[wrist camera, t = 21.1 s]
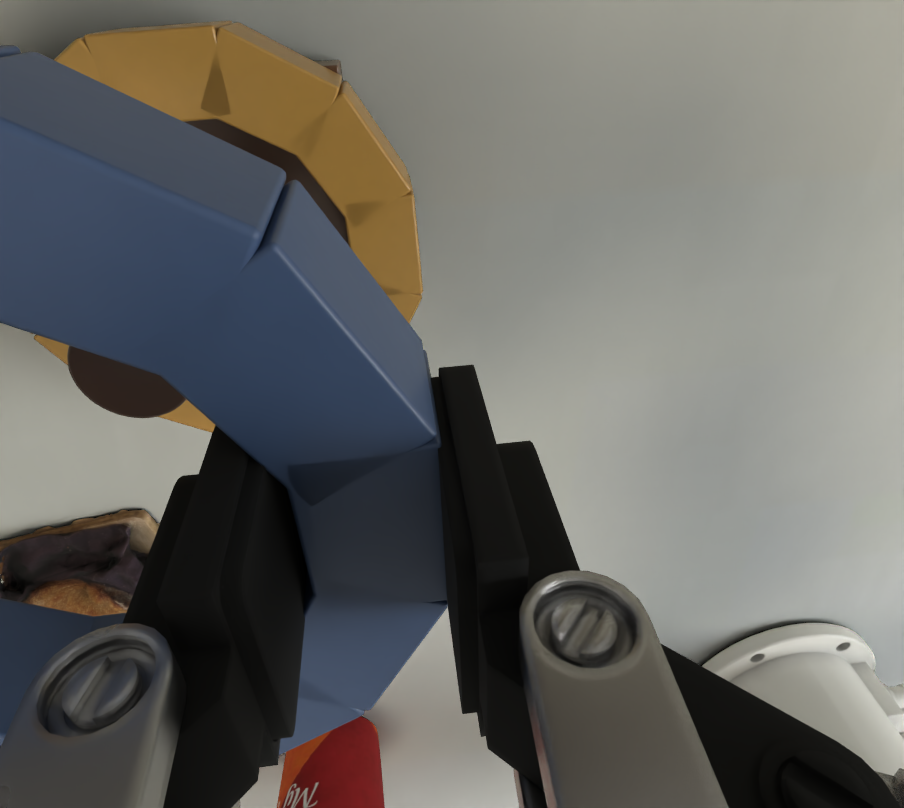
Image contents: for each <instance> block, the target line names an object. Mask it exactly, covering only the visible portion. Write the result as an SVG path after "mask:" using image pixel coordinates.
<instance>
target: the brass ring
mask: <svg viewBox="0 0 904 808" xmlns="http://www.w3.org/2000/svg"><path fill="white" fill-rule="evenodd" d="M54 61H56V62H59V63H61V64H63V65H65V66H67V67H69V68H71V69H73V70H75V71H78V72H80V73H82V74H84V75H86V76H88V77H90V78H92V79H94V80H97V81H99V82H101V83H103V84H105V85H107V86H109V87H111V88H113V89H116V90H118V91H120V92H122V93H124V94H126V95H128V96H130V97H132V98H135V99H137V100H139V101H141V102H143V103H145V104H147V105H149V106H151V107H154V108H156V109H158V110H160V111H162V112H164V113H166V114H168V115H170V116H173V117H175V118H177V119H179V120H181V121H183V122H185V121H196V120H208V119H218V120H220V121H223V122H225V123H227V124H229V125H231V126H233V127H236V128H238V129H240V130H242V131H244V132H246V133H249V134H251V135H253V136H255V137H257V138H260V139H262V140H264V141H266V142H268V143H270V144H273V145H275V146H277V147H279V148H281V149H283V150H286V151H288V152H290V153H292V154H294V155H296V156H297V157H298V159H299V160H300V161H301V163H302V164H303V165H304V166H305V168H306V169H307V170H308V172H309V173H310V174H311V175H312V177H313V178H314V179H315V180H316V182H317V183H318V184H319V186H320V187H321V188H322V189H323V191H324V192H325V193H326V194H327V196H328V197H329V198H330V200H331V201H332V202H333V203H334V205H335V206H336V207H337V208H338V210H339V211H340V212H341V214H342V215H343V216H344V217H345V223H346V230H347V236H348V242H349V247H350V248H351V249H352V250H353V252H354V253H355V254H356V256H357V257H358V258H359V260H360V261H361V262H362V263H363V265H364V266H365V267H366V269H367V270H368V271H369V273H370V274H371V275H372V276H373V278H374V279H375V280H376V282H377V283H378V284H379V286H380V287H381V288H382V289H383V291H384V292H385V293H386V295H387V296H388V297H389V299H390V300H391V301H392V302H393V304H394V305H395V306H396V308H397V309H398V310H399V311H400V313H401V314H402V315H403V317H404V318H405V319H406V321H407V322H408V323H410V321H411V319H412V317H413V315H414V313H415V311H416V309H417V307H418V305H419V303H420V301H421V299H422V296H421V293H422V292H423V286H422V275H421V265H420V254H419V243H418V232H417V221H416V211H415V200H414V194H413V189H412V185H411V181H410V176H409V174H408V173H407V169H406V166H405V165H404V163H403V162H402V160H401V159H400V157H399V156H398V154H397V153H396V152H395V150H394V149H393V147H392V146H391V144H390V143H389V141H388V140H387V138H386V137H385V135H384V134H383V133H382V131H381V130H380V128H379V127H378V125H377V124H376V122H375V121H374V119H373V118H372V117H371V115H370V114H369V112H368V111H367V109H366V108H365V106H364V105H363V103H362V102H361V100H360V99H359V98H358V96H357V95H356V93H355V92H354V90H353V89H352V87H351V86H350V84H349V83H348V82H347V81H343V82H342V83H341V81H342V76H341V75H339V74H337V73H335V72H333V71H332V70H330V69H328V68H326V67H324V66H322V65H320V64H318V63H316V62H314V61H312V60H310V59H308V58H306V57H305V56H303V55H301V54H299V53H297V52H295V51H293V50H291V49H289V48H287V47H285V46H283V45H281V44H279V43H277V42H276V41H274V40H272V39H270V38H268V37H266V36H264V35H262V34H260V33H258V32H256V31H254V30H252V29H250V28H248V27H247V26H245V25H243V24H241V23H238V22H236V23H232V21H215V22H202V23H189V24H175V25H162V26H148V27H135V28H122V29H115V30H109V31H103V32H97V33H91V34H86V35H85V36H84V37H82V38H77V39H75V40H74V41H73V42H72V43H71V44H70V45H69V46H68V47H67V48H66V49H65V50H64V51H63V52H62V53H61V54H59V55H58V56H57V57H56V58H55V59H54ZM31 334H33V333H31ZM34 339H35V340H36V341H38V342H39V343H40V344H41V345H43V346H44V347H45V348H46V349H48V350H49V351H50V352H51V353H53V354H54V355H55V356H57V357H58V358H59V359H60V360H62V361H63V362H64V363H65V364H67V365H68V361H67V353H68V347H69V345H66V344H63V343H60V342H57V341H54V340H51V339H48V338H45V337H42V336H39V335H35V336H34ZM157 417H161V418H164V419H168V420H171V421H174V422H178V423H181V424H185V425H188V426H192V427H195V428H198V429H202V430H205V431H209V432H212V433H213V430H214V427H215V424H214V423H213V422H212V421H210V420H209V419H208V418H207V417H206V416H205V415H204V414H203V413H201V412H200V411H199V410H198V409H197V408H196V407H195V406H194V405H192V404H191V403H190V402H189V401H188V400H186V401H185V402H184V403H183V404H182V405H180V406H179V407H178V408H176V409H175V410H173V411H171V412H169V413H167V414H164V415H161V416H157Z"/></svg>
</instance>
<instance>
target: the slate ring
mask: <svg viewBox="0 0 904 808" xmlns="http://www.w3.org/2000/svg"><path fill="white" fill-rule="evenodd" d="M285 181H286V172H285V171H284V170H283V169H282V168H280V167H278V166H276V165H274V164H272V163H270V162H267V161H265V160H263V159H261V158H259V157H257V156H255V155H253V154H251V153H248V152H246V151H244V150H242V149H240V148H238V147H236V146H234V145H232V144H229V143H227V142H225V141H223V140H221V139H219V138H217V137H215V136H213V135H211V134H208V133H206V132H204V131H202V130H200V129H198V128H196V127H194V126H192V125H189V124H187V123H185V122H183V121H181V120H179V119H177V118H175V117H173V116H170V115H168V114H166V113H164V112H162V111H160V110H158V109H156V108H154V107H151V106H149V105H147V104H145V103H143V102H141V101H139V100H137V99H135V98H132V97H130V96H128V95H126V94H124V93H122V92H120V91H118V90H116V89H113V88H111V87H109V86H107V85H105V84H103V83H101V82H99V81H97V80H94V79H92V78H90V77H88V76H86V75H84V74H82V73H80V72H78V71H75V70H73V69H71V68H69V67H67V66H65V65H63V64H61V63H59V62H56V61H54V60H52V59H50V58H48V57H46V56H44V55H42V54H40V53H37V52H25V53H21V51H20V49H19V48H18V47H17V46H14V45H6V46H0V323H3V324H6V325H9V326H12V327H15V328H18V329H21V330H24V331H27V332H30V333H33V334H36V335H39V336H42V337H45V338H48V339H51V340H54V341H57V342H60V343H63V344H66V345H69V346H72V347H75V348H78V349H81V350H84V351H88V352H91V353H94V354H97V355H100V356H103V357H106V358H109V359H112V360H115V361H118V362H121V363H124V364H127V365H130V366H133V367H136V368H139V369H142V370H145V371H148V372H151V373H154V374H157V375H160V376H161V377H162V378H163V379H164V380H165V381H167V382H168V383H169V384H170V385H171V386H172V387H173V388H174V389H176V390H177V391H178V392H179V393H180V394H181V395H182V396H183V397H185V398H186V399H187V400H188V401H189V402H190V403H191V404H192V405H194V406H195V407H196V408H197V409H198V410H199V411H200V412H201V413H203V414H204V415H205V416H206V417H207V418H208V419H209V420H210V421H212V422H213V423H214V424H215V425H216V426H217V427H218V428H219V429H221V430H222V431H223V432H224V433H225V434H226V435H227V436H228V437H230V438H231V439H232V440H233V441H234V442H235V443H236V444H237V445H239V446H240V447H241V448H242V449H243V450H244V451H245V452H246V453H248V454H249V455H250V456H251V457H252V458H253V459H254V460H255V461H257V462H258V463H259V464H260V465H261V466H264V467H265V469H266V470H267V471H268V472H269V473H270V474H271V475H272V476H273V477H275V478H276V479H277V480H278V481H279V482H280V483H281V484H282V485H284V486H285V487H286V488H287V491H288V495H289V499H290V503H291V507H292V511H293V515H294V519H295V523H296V527H297V531H298V535H299V539H300V543H301V547H302V551H303V555H304V559H305V563H306V567H307V579H306V589H305V599H304V617H305V626H304V637H303V648H302V659H301V670H300V681H299V691H298V702H297V713H296V724H295V731H294V735H293V736H292V737H289V738H282V739H281V740H280V749H279V755H281V754H283V753H285V752H287V751H289V750H291V749H293V748H295V747H297V746H300V745H302V744H304V743H306V742H308V741H310V740H312V739H314V738H316V737H318V736H320V735H323V734H325V733H327V732H329V731H331V730H333V729H335V728H337V727H339V726H341V725H343V724H346V723H348V722H350V721H352V720H354V719H356V718H358V717H360V716H362V715H363V714H364V712H365V710H371V708H372V707H373V706H374V704H375V703H376V702H377V700H378V699H379V698H380V696H381V695H382V694H383V692H384V691H385V690H386V688H387V687H388V686H389V684H390V683H391V682H392V680H393V679H394V678H395V676H396V675H397V674H398V672H399V671H400V670H401V668H402V667H403V666H404V664H405V663H406V662H407V660H408V659H409V658H410V656H411V655H412V654H413V652H414V651H415V650H416V648H417V647H418V646H419V644H420V643H421V642H422V640H423V639H424V638H425V636H426V635H427V634H428V632H429V631H430V630H431V628H432V627H433V626H434V624H435V623H436V622H437V620H438V619H439V618H440V616H441V615H442V614H443V612H444V611H445V610H446V608H447V606H448V604H447V589H446V572H445V556H444V540H443V524H442V507H441V491H440V475H439V459H438V448H440V447H441V446H442V443H441V437H440V431H439V425H438V419H437V413H436V407H435V401H434V395H433V390H432V384H431V375H430V369H429V364H428V358H427V353H426V351H425V350H423V345H422V340H421V339H420V337H419V336H418V335H417V334H416V332H415V331H414V330H413V328H412V327H411V326H410V324H409V323H408V322H407V321H406V319H405V318H404V317H403V315H402V314H401V313H400V311H399V310H398V309H397V308H396V306H395V305H394V304H393V302H392V301H391V300H390V299H389V297H388V296H387V295H386V293H385V292H384V291H383V289H382V288H381V287H380V286H379V284H378V283H377V282H376V280H375V279H374V278H373V276H372V275H371V274H370V273H369V271H368V270H367V269H366V267H365V266H364V265H363V263H362V262H361V261H360V260H359V258H358V257H357V256H356V254H355V253H354V252H353V250H352V249H351V248H350V247H349V245H348V244H347V243H346V241H345V240H344V239H343V237H342V236H341V235H340V234H339V232H338V231H337V230H336V228H335V227H334V226H333V224H332V223H331V222H330V221H329V219H328V218H327V217H326V215H325V214H324V213H323V211H322V210H321V209H320V208H319V206H318V205H317V204H316V202H315V201H314V200H313V198H312V197H311V196H310V195H309V193H308V192H307V191H306V189H305V188H304V187H303V185H302V184H301V183H300V182H299V181H297V180H291V181H290V182H288V183H287V184H285ZM284 184H285V185H284ZM125 615H126V613H119V614H110V615H102V616H89V615H84V614H79V613H74V612H69V611H63V610H58V609H53V608H48V607H43V606H38V605H33V604H27V603H22V602H17V601H12V600H7V599H2V598H0V746H1V745H2V743H3V740H4V738H5V736H6V734H7V732H8V729H9V727H10V725H11V723H12V720H13V718H14V716H15V714H16V712H17V709H18V707H19V705H20V703H21V700H22V698H23V696H24V694H25V692H26V690H27V689H28V687H29V685H30V684H31V682H32V680H33V679H34V677H35V676H36V674H37V673H38V671H39V670H40V669H41V668H42V667H43V666H44V665H45V664H46V663H47V662H48V661H49V660H50V659H51V658H52V657H53V656H54V655H55V654H56V653H57V652H59V651H60V650H62V649H63V648H64V647H66V646H67V645H69V644H70V643H71V642H73V641H74V640H76V639H78V638H80V637H82V636H84V635H86V634H88V633H90V632H92V631H94V630H96V629H100V628H104V627H108V626H111V625H115V624H122V623H123V620H124V618H125Z"/></svg>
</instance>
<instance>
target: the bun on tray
mask: <svg viewBox="0 0 904 808" xmlns="http://www.w3.org/2000/svg"><path fill="white" fill-rule="evenodd" d="M159 525H160V523H158V524H157V523H156V522H155V520H154V519H153V518H152V517H151V516H150V515H149V513H147V512H146V511H145V510H133V511H126V510H121V511H119V512H118V513H116V514H113V515H112V514H111V513H110V515H105V516H104V517H103V516H100V517H97V518H96V519H94V518H85V519H80V520H76V521H73V522H72V524H71V525H68V526H62V527H59V528H53V527H50V526H48V527H44V528H41V529H38V530H36V531H35V532H34V533H32V534H27V535H24V536H20V537H16V538H13V539H9V540H2V541H0V598H2V599H7V600H12V601H17V602H22V603H27V604H33V605H38V606H43V607H48V608H53V609H58V610H63V611H69V612H74V613H79V614H84V615H89V616H102V615H110V614H119V613H126V612H127V610H128V607H129V605H130V602H131V599H132V597H133V594H134V591H135V589H136V586H137V583H138V581H139V578H140V575H141V573H142V570H143V567H144V565H145V562H146V559H147V557H148V554H149V551H150V549H151V546H152V544H153V541H154V538H155V536H156V533H157V530H158V528H159ZM1 578H2V579H3V581H4V583H3V584H2V583H1Z"/></svg>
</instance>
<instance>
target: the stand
mask: <svg viewBox="0 0 904 808" xmlns="http://www.w3.org/2000/svg"><path fill="white" fill-rule="evenodd" d="M314 62H316V63H318V64H320V65H322V66H324V67H326V68H328V69H330V70H332V71H333V72H335V73H337V74H339V75H341V76H342V72H341V63H340V61H339V60H330V61H314ZM342 82H343V80H342V81H341V83H342ZM185 123H187V124H189V125H192V126H194V127H196V128H198V129H200V130H202V131H204V132H206V133H208V134H211V135H213V136H215V137H217V138H219V139H221V140H223V141H225V142H227V143H229V144H232V145H234V146H236V147H238V148H240V149H242V150H244V151H246V152H248V153H251V154H253V155H255V156H257V157H259V158H261V159H263V160H265V161H267V162H270V163H272V164H274V165H276V166H278V167H280V168H282V169H283V170H284V171H285V172H286V181H285V184H287V183H288V182H290V181H291V180H297V181H299V182H300V183H301V184H302V185H303V187H304V188H305V189H306V191H307V192H308V193H309V195H310V196H311V197H312V198H313V200H314V201H315V202H316V204H317V205H318V206H319V208H320V209H321V210H322V211H323V213H324V214H325V215H326V217H327V218H328V219H329V221H330V222H331V223H332V224H333V226H334V227H335V228H336V230H337V231H338V232H339V234H340V235H341V236H342V237H343V239H344V240H345V241H346V243H347V244H348V245H349V242H348V236H347V230H346V223H345V217H344V216H343V215H342V214H341V212H340V211H339V210H338V208H337V207H336V206H335V205H334V203H333V202H332V201H331V200H330V198H329V197H328V196H327V194H326V193H325V192H324V191H323V189H322V188H321V187H320V186H319V184H318V183H317V182H316V180H315V179H314V178H313V177H312V175H311V174H310V173H309V172H308V170H307V169H306V168H305V166H304V165H303V164H302V163H301V161H300V160H299V159H298V157H297V156H296V155H294V154H292V153H290V152H288V151H286V150H283V149H281V148H279V147H277V146H275V145H273V144H270V143H268V142H266V141H264V140H262V139H260V138H257V137H255V136H253V135H251V134H249V133H246V132H244V131H242V130H240V129H238V128H236V127H233V126H231V125H229V124H227V123H225V122H223V121H220V120H218V119H208V120H196V121H185ZM285 184H284V185H285ZM67 361H68V367H69V371H70V374H71V376H72V378H73V380H74V382H75V383H76V385H77V386H78V388H79V389H80V390H81V391H82V392H83V393H84V394H85V395H86V396H87V397H88V398H89V399H90V400H92V401H93V402H94V403H96V404H97V405H99V406H101V407H102V408H104V409H106V410H108V411H111V412H113V413H116V414H119V415H123V416H127V417H134V418H151V417H157V416H161V415H164V414H167V413H169V412H171V411H173V410H175V409H176V408H178V407H179V406H180V405H182V404H183V403H184V402H185V401H186V400H187V399H186V398H185V397H183V396H182V395H181V394H180V393H179V392H178V391H177V390H176V389H174V388H173V387H172V386H171V385H170V384H169V383H168V382H167V381H165V380H164V379H163V378H162V377H161V376H160V375H157V374H154V373H151V372H148V371H145V370H142V369H139V368H136V367H133V366H130V365H127V364H124V363H121V362H118V361H115V360H112V359H109V358H106V357H103V356H100V355H97V354H94V353H91V352H88V351H84V350H81V349H78V348H75V347H72V346H69V347H68V353H67Z"/></svg>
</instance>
